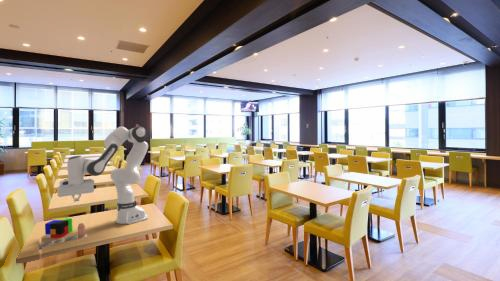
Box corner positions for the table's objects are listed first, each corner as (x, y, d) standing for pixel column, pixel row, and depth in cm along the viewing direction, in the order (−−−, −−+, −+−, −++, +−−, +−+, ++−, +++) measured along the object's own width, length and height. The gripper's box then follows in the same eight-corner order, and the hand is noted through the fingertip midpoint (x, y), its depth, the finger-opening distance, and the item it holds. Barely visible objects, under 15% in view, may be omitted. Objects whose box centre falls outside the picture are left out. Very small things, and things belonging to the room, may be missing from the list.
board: (87, 234, 173) (87, 232, 173) (89, 238, 167) (89, 236, 167) (38, 245, 157) (38, 242, 157) (38, 250, 151) (38, 247, 151)
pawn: (85, 234, 170) (84, 221, 170) (85, 236, 167) (85, 223, 167) (77, 235, 168) (77, 223, 167) (78, 237, 165) (77, 224, 164)
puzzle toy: (45, 239, 165) (44, 223, 165) (58, 232, 175) (57, 218, 175) (61, 239, 165) (60, 224, 164) (72, 233, 175) (71, 218, 174)
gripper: (93, 177, 183) (93, 197, 184) (56, 181, 171) (57, 202, 171) (94, 179, 178) (95, 199, 179) (57, 183, 166) (58, 205, 166)
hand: (76, 201), depth 175 cm, fingers closed
